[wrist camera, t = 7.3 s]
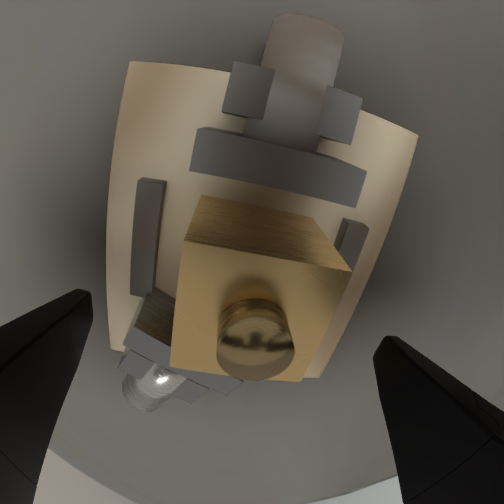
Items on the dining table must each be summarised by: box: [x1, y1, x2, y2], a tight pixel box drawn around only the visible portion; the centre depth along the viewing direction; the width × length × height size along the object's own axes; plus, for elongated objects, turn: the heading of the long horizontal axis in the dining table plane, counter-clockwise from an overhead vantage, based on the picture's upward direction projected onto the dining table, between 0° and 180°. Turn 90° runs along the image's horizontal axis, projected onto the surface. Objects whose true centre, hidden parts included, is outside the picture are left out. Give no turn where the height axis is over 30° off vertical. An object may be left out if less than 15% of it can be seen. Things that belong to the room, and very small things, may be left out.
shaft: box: [118, 287, 243, 412], centre depth 13 cm, size 6×5×3 cm
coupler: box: [170, 195, 352, 382], centre depth 10 cm, size 4×4×6 cm
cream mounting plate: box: [106, 14, 419, 378], centre depth 11 cm, size 12×16×4 cm
